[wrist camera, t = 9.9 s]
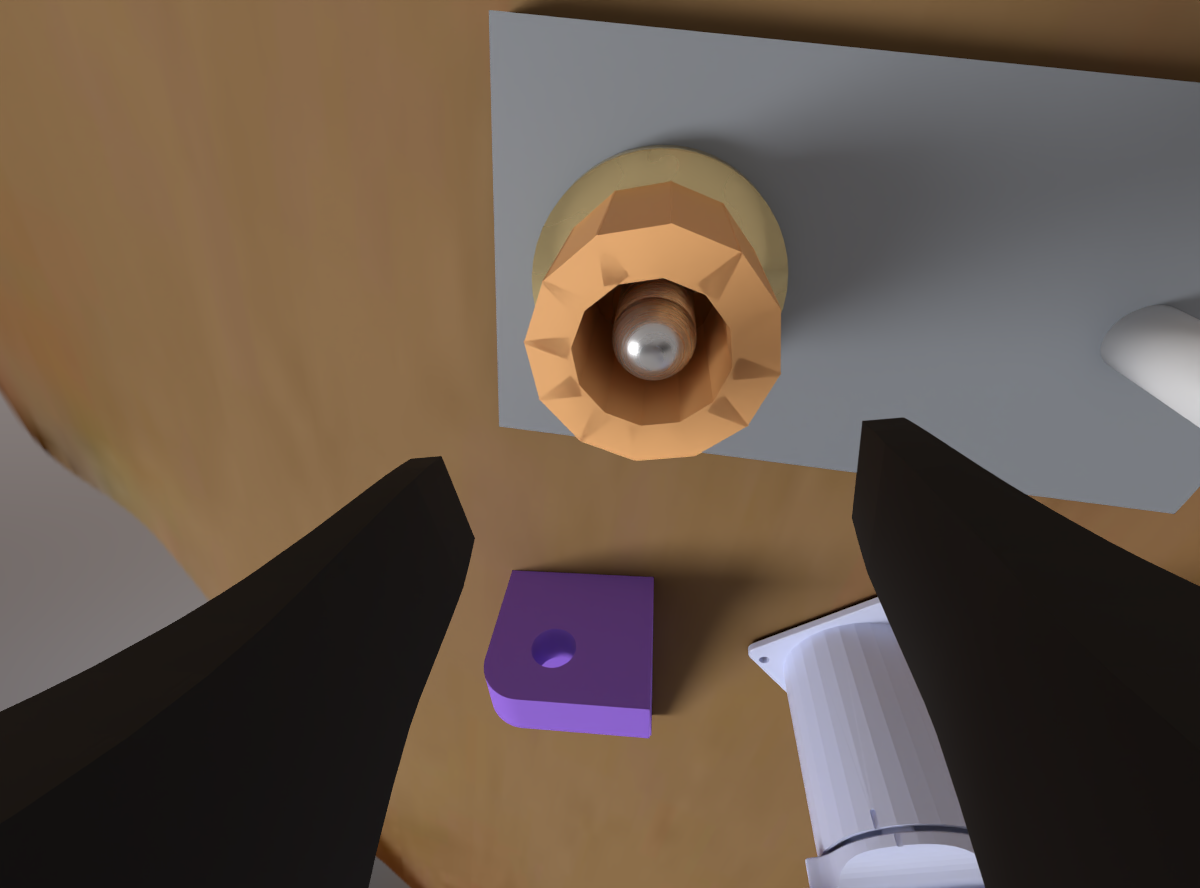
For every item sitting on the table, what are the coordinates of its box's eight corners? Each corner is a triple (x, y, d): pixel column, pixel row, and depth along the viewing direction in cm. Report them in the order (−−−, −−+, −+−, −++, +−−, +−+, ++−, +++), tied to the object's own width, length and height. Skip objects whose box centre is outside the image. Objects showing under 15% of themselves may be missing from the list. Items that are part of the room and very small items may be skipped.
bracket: (514, 565, 27) (473, 696, 21) (654, 571, 26) (649, 709, 21) (540, 701, 34) (514, 827, 28) (651, 709, 33) (648, 841, 27)
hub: (828, 301, 16) (884, 385, 12) (636, 422, 19) (626, 523, 15) (686, 77, 14) (695, 83, 9) (490, 260, 17) (428, 328, 12)
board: (1463, 112, 14) (1805, 133, 9) (1143, 486, 20) (1262, 592, 16) (504, 14, 14) (439, -6, 10) (509, 405, 21) (471, 486, 17)
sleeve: (792, 231, 14) (834, 290, 11) (700, 397, 17) (709, 487, 14) (598, 149, 14) (572, 181, 10) (538, 336, 17) (501, 413, 13)
